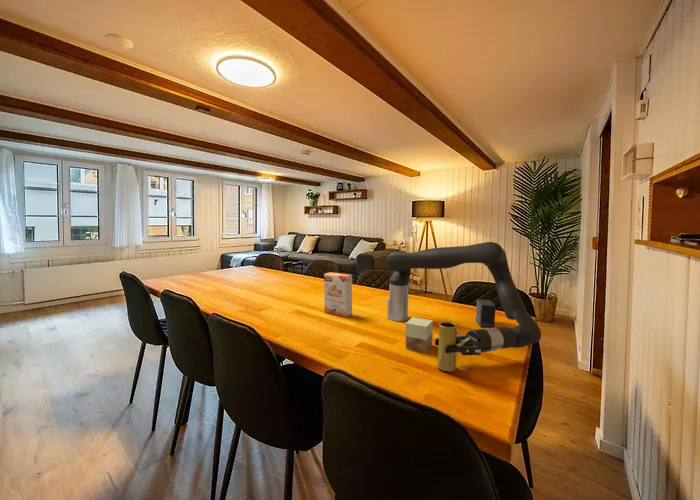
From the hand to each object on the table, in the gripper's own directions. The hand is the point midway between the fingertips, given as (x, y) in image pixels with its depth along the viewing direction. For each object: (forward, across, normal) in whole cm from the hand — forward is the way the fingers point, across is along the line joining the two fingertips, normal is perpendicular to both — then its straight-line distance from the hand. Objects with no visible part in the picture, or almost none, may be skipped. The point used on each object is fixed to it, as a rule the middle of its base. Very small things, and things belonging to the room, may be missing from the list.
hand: (440, 345), depth 98 cm
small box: (-44, -33, +9) cm, 56 cm away
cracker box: (+18, -67, +9) cm, 70 cm away
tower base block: (-2, -18, +8) cm, 20 cm away
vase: (-3, 0, +8) cm, 8 cm away
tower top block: (-2, -18, +3) cm, 19 cm away
